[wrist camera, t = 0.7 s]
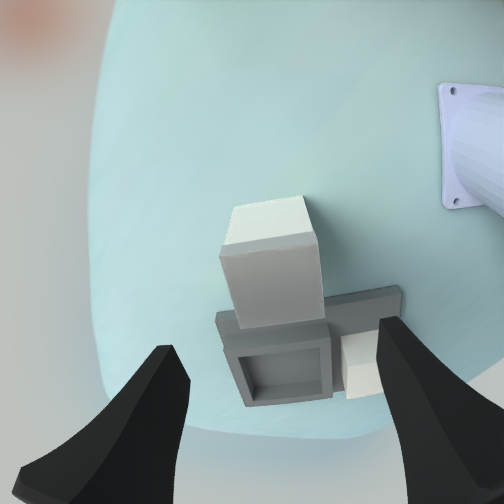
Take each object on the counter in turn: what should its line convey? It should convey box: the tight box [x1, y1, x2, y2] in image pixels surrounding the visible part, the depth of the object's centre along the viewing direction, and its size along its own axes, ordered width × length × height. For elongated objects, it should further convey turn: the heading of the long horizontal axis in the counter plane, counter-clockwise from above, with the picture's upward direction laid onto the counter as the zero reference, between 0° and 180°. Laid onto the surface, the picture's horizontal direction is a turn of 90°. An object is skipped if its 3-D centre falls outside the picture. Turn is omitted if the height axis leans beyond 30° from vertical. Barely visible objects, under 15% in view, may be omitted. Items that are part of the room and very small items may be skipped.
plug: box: [219, 195, 325, 329], centre depth 17 cm, size 4×4×6 cm
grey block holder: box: [215, 285, 402, 407], centre depth 22 cm, size 13×10×4 cm
